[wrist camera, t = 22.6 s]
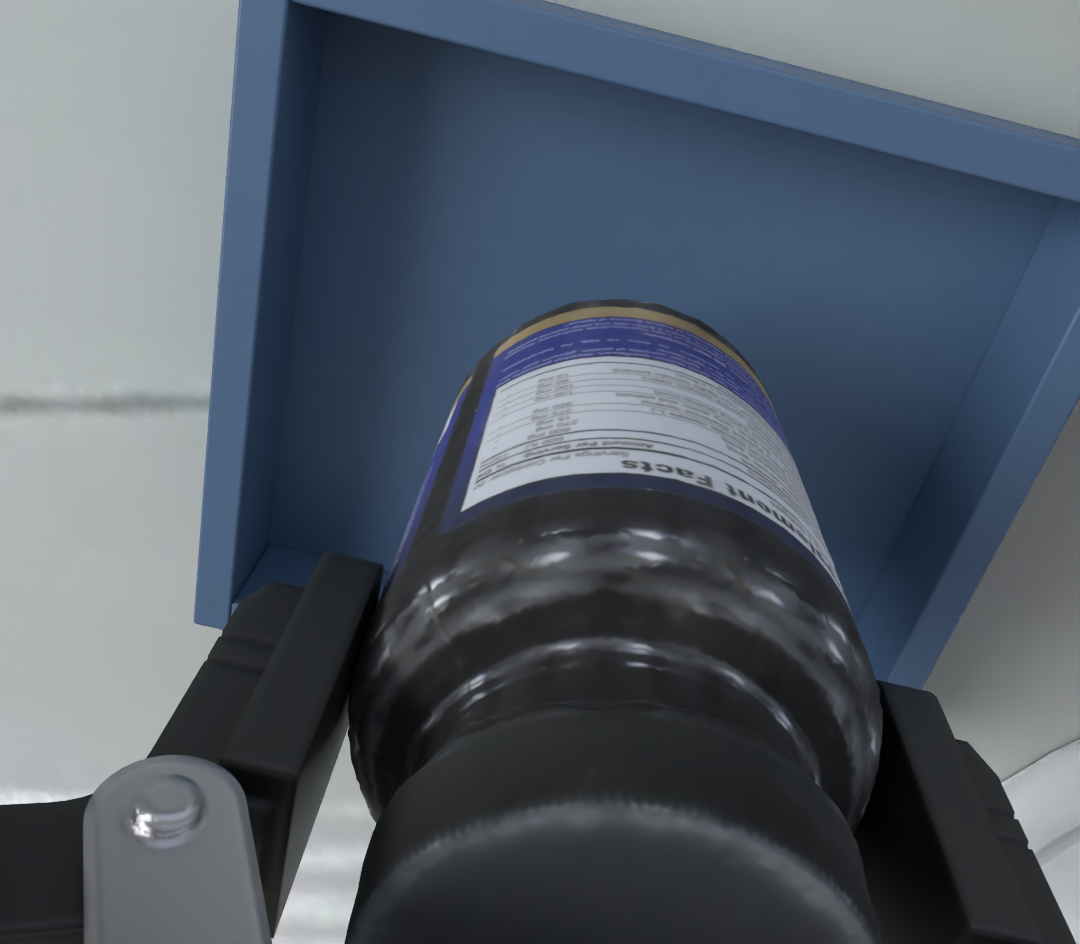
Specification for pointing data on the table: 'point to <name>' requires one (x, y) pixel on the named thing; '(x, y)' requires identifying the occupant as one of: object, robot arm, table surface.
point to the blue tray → (627, 279)
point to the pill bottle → (613, 662)
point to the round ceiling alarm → (1053, 823)
